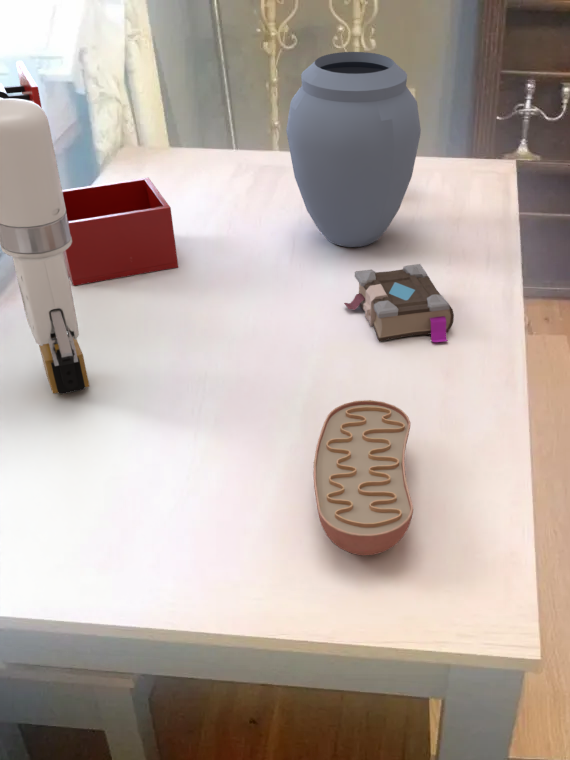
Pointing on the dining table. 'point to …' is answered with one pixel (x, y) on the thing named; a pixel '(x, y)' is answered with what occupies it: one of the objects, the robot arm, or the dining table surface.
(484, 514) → the dining table surface
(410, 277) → the book
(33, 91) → the red box lid
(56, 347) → the brass block
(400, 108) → the vase
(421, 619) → the dining table surface
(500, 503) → the dining table surface
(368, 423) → the anatomical model
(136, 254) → the red open box
